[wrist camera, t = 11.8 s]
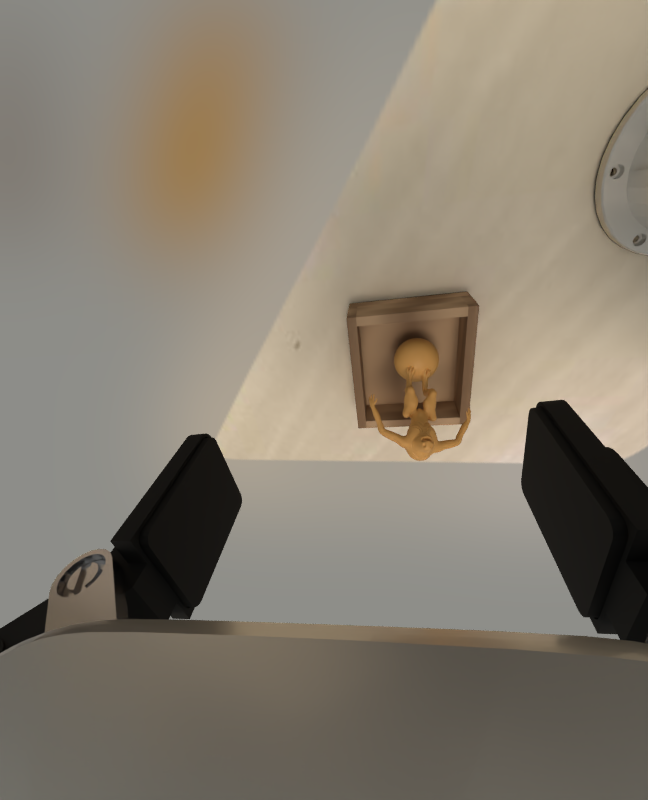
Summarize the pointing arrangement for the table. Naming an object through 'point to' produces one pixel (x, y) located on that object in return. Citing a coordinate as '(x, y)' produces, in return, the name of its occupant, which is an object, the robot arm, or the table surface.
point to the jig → (398, 322)
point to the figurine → (417, 365)
